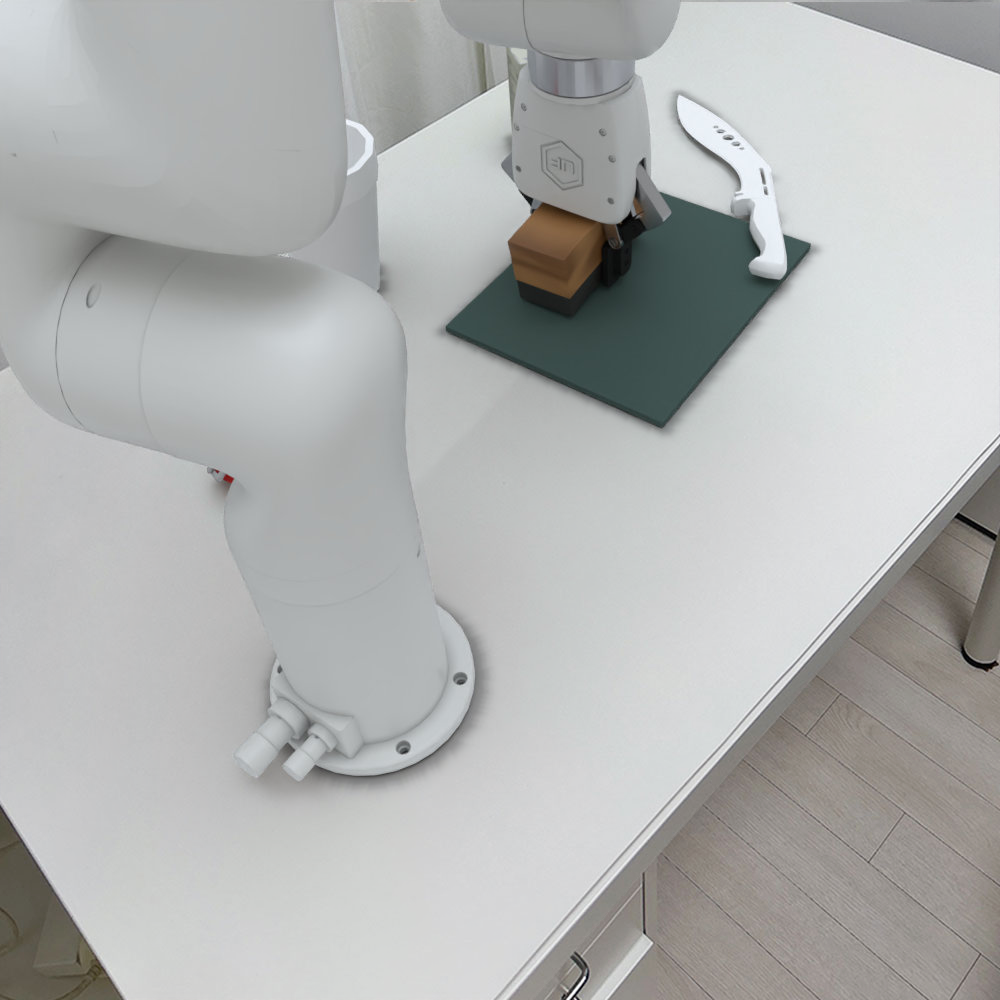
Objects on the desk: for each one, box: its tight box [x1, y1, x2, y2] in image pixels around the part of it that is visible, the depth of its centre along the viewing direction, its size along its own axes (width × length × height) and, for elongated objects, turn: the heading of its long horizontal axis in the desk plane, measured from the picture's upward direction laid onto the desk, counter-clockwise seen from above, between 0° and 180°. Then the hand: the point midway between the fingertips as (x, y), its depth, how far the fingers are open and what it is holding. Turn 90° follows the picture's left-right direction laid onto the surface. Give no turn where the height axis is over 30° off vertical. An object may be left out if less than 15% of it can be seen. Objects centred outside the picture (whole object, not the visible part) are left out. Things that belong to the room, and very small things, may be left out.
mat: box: [445, 191, 812, 429], centre depth 90 cm, size 24×20×1 cm
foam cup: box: [287, 118, 381, 292], centre depth 88 cm, size 10×9×13 cm
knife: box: [676, 94, 787, 280], centre depth 98 cm, size 30×2×8 cm
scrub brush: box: [507, 198, 643, 317], centre depth 88 cm, size 12×5×6 cm, turn 145°
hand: (584, 263), depth 91 cm, fingers closed on scrub brush, 5 cm apart
